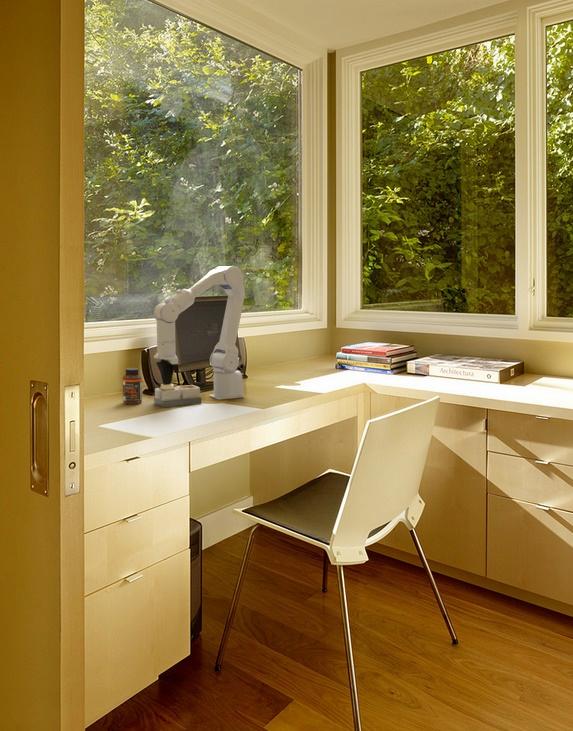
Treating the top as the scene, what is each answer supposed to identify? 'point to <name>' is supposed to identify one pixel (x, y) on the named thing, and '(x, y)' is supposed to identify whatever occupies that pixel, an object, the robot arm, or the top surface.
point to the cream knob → (167, 387)
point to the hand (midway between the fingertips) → (167, 383)
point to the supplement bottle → (132, 387)
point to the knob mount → (178, 396)
